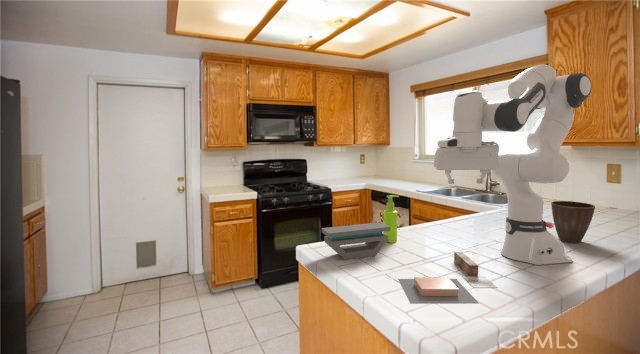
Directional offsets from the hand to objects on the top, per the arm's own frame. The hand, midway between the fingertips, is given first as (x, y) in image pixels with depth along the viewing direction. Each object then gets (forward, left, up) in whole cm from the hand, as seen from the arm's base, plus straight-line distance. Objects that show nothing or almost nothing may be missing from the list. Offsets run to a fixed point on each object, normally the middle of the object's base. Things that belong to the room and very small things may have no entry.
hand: (465, 183), depth 112 cm
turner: (0, +6, -29) cm, 30 cm away
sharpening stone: (+35, -14, -29) cm, 48 cm away
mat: (+15, +18, -29) cm, 37 cm away
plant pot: (-58, -31, -29) cm, 72 cm away
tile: (+15, +14, -27) cm, 34 cm away
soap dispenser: (+18, -33, -29) cm, 48 cm away
